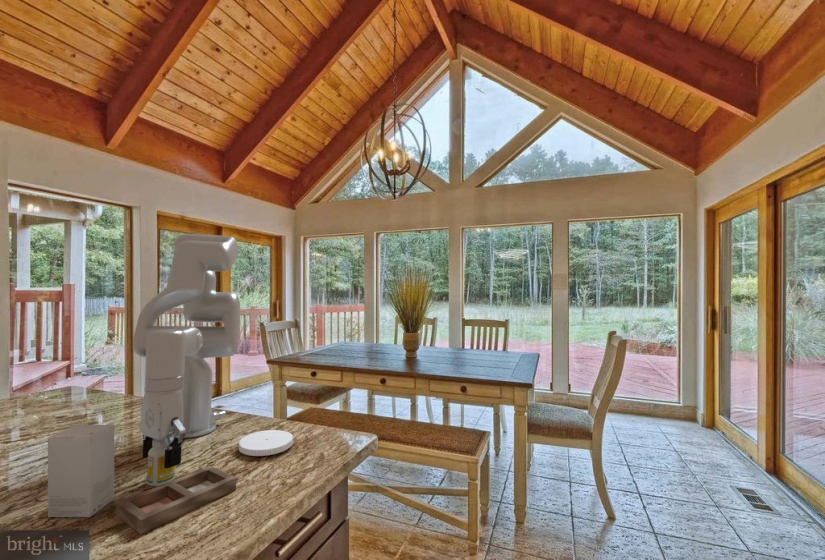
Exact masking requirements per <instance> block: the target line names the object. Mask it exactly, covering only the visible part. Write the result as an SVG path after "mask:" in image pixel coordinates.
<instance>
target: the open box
mask: <svg viewBox="0 0 825 560" xmlns="http://www.w3.org/2000/svg"><path fill="white" fill-rule="evenodd" d="M236 490H237V476H234V475H231V474H230V473H227V472H225V471H223V470H221V469H219V468H217V467H214V466H212V465H208V466H206V467H204V468H203V467H202V468H200V469H198V470H195V471H193V472H190V473H188V474H185V475H183V476H180V477H178V478H174V479H173V480H172V481H170V482H167V483H165V484H162V485H160V486H153V487H152V488H149V489H148V490H145V491H144V490H143V491H142V492H140V493H137V494H135V495H132V496H130V497H127V498H124V499H121V500H119V501H116V504H115V505H116V506H115V516H116V517H117V518H119V520H120V521H122V522H124V523H125V524H127V526H129V527H130V528H132V529H133V530H134V531H135V532H137V533H138V534H139V535H142V534H145V533H147V532H148V531H150V530H153V529H155V528H158V527H159V526H161V525H163V524H165V523H167V522H170V521H171V520H174V519H176V518H179V517H180V516H182V515H184V514H185V515H186V514H187V513H189V512H190V511H194V510H195V509H197V508H200V507H201V506H204V505H206V504H208V503H210V502H212V501H214V500H217V499H218V498H220V497H223V496H225V495H226V494H229V493H231V492H232V491H236Z"/></svg>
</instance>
